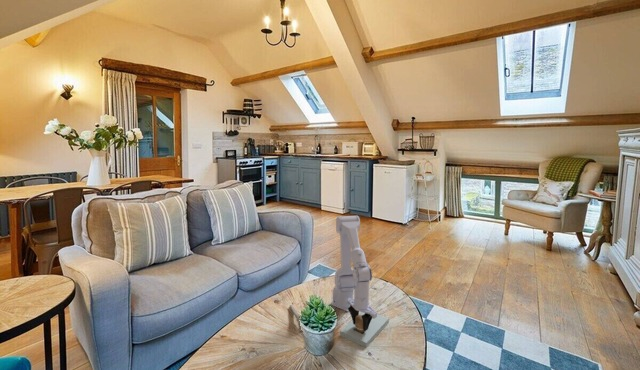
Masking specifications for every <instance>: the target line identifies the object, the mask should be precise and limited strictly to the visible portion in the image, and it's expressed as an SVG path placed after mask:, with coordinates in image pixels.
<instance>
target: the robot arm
mask: <svg viewBox="0 0 640 370" xmlns="http://www.w3.org/2000/svg"><path fill="white" fill-rule="evenodd" d="M360 226H361V219H360V216H358V215H345V216H344V215H343V216H342V215H341V216H339V215H338V216H337V217H336V219H335V230H336V233H338V234H339V237H340V240H339V241H340V242H339V243H340V267H339V268H338V269H337V270H336V271H335V273H334V274H335V275H334V287H333V290H332V303H331V305H332V306H333V307H334V308H335V307H336V308H338V309H340V310H343V311H345V312H348V313H350V317H351V320H353V324H354V325H355V317H356V316H357V315H359V313H360V312H363V313H365V314H364V315H362V320H363V330H364V331H366V330H367V329H368V327H369V324H370V322H371V320H372V318H373V319H374V318H376V317H377V314H378V312H377V311H376V310H374V309H373V307H371V306H370V301H369V299H370V281H372V279H373V272H372V268H371V266H370V265H369V263H368V262H367V258H366V255H365V252H364V250H363V249H362V248H361V245H360V239H359V231H360Z"/></svg>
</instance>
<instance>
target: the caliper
mask: <svg viewBox="0 0 640 370" xmlns="http://www.w3.org/2000/svg"><path fill="white" fill-rule="evenodd" d="M289 308H290V310H291V311H292V314H293V315H294V317H295V318H296V322H298V330H299V332H300V333H301V332H303V331H302V330H301V326H300V321H299V318H300V316H301V315H300V314H299V313H298V312H297V310H296V308H295V307H294V305H292V304H291V305H289Z"/></svg>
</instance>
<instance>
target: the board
mask: <svg viewBox="0 0 640 370" xmlns="http://www.w3.org/2000/svg"><path fill="white" fill-rule="evenodd" d="M364 314H365V313H363V312H360V311H359V315H364ZM389 323H390V318H389V317H387V316H383V315H382V314H378V313H377V317H376V318H374V319H373V318H372V320H371V322H370V324H369V327H368V329H367V330H366V331H365V332H364V333H363V334H361V333H359V332H357V329H356V327H355V325H354V324H353V320H352V319H351V321H349V322H348V323H346V325H345V326H344V327H343V328H342V329H340V330H339V336H341V337H342V338H345V339H347V340H349V341H351V342H353V343H355V344H357V345H359V346H362V347H364V348H368V347H369V345H370V344H371V343H372V342H373V341H374V340H375V338H376V337H377V336H378V335H379V334H380V333H381V331H383V329H384V328H385V327H386V326H387V325H388V324H389Z"/></svg>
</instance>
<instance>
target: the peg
mask: <svg viewBox="0 0 640 370" xmlns="http://www.w3.org/2000/svg"><path fill="white" fill-rule="evenodd" d="M355 327H356V329H357V330H356V332H359V333H361V334H363V333H364V332H365V331H364V330H363V320H362V315H357V316H356V317H355Z"/></svg>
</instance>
